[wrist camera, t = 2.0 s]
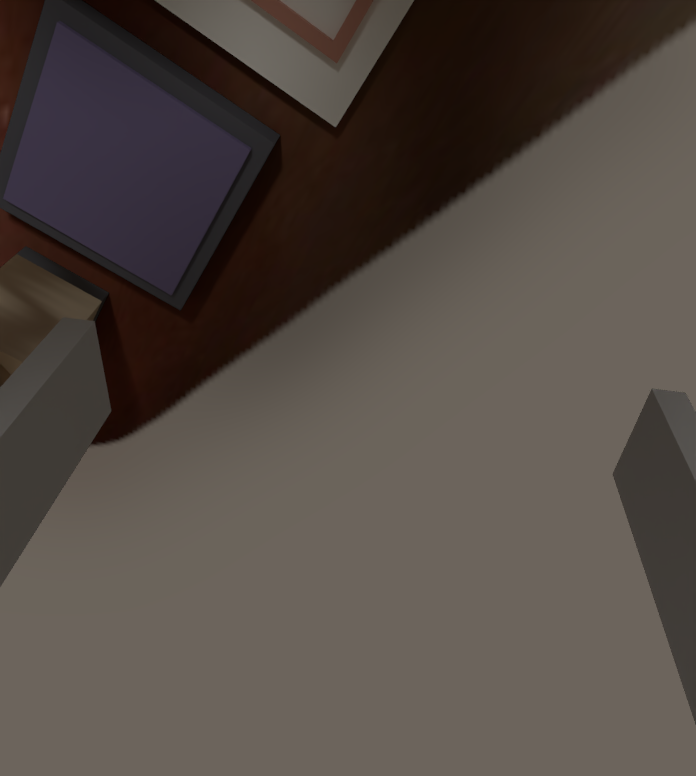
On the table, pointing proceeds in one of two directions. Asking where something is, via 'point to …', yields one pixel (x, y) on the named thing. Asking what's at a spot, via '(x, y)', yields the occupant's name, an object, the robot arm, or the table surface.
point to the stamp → (39, 304)
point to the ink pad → (125, 152)
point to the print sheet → (301, 42)
